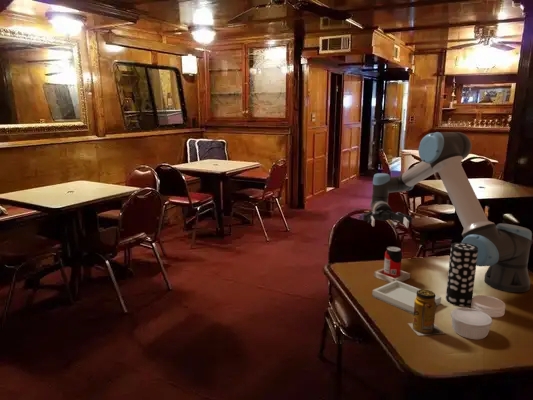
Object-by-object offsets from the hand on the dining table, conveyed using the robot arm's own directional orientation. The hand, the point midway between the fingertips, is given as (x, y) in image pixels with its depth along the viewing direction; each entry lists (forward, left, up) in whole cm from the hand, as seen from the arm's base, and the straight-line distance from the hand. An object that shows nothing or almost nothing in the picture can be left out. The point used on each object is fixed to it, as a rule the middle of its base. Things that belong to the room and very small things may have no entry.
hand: (390, 223), depth 169 cm
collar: (-7, +7, -19) cm, 22 cm away
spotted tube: (-34, +6, -19) cm, 39 cm away
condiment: (-37, +32, -20) cm, 53 cm away
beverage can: (-7, +7, -20) cm, 22 cm away
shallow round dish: (-43, +5, -20) cm, 48 cm away
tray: (-22, +20, -19) cm, 35 cm away
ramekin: (-46, +23, -20) cm, 55 cm away
